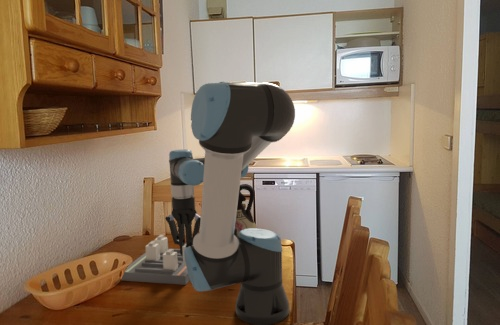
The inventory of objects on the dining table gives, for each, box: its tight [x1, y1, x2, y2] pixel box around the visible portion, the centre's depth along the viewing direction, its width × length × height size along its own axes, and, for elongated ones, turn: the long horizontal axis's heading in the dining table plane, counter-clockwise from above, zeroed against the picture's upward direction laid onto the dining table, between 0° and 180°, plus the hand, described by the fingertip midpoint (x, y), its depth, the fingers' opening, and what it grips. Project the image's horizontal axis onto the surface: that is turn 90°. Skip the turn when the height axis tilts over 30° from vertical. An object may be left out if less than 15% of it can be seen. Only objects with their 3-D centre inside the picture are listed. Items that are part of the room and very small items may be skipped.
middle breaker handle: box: [145, 240, 160, 260], centre depth 135 cm, size 3×4×7 cm
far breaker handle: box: [153, 234, 169, 253], centre depth 142 cm, size 3×4×7 cm
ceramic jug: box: [234, 183, 258, 238], centre depth 139 cm, size 17×15×30 cm
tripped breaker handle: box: [163, 248, 178, 272], centre depth 126 cm, size 3×4×7 cm
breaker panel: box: [121, 248, 190, 286], centre depth 135 cm, size 22×24×4 cm
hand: (186, 263), depth 125 cm, fingers closed
